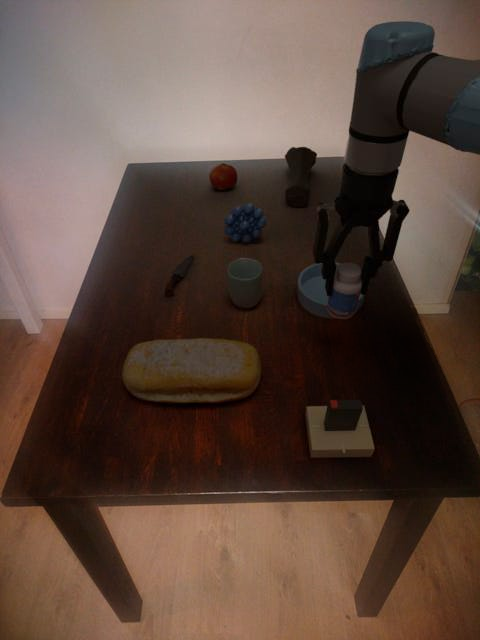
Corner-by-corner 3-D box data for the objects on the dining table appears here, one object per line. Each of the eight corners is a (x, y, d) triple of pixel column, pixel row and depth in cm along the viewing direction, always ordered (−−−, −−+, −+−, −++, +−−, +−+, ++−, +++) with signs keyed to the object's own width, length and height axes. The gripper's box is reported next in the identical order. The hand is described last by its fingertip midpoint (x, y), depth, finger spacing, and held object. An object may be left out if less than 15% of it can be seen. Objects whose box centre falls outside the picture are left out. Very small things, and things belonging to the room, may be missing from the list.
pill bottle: (355, 321, 71) (365, 281, 64) (325, 317, 72) (332, 277, 65) (355, 301, 74) (365, 261, 67) (327, 298, 75) (334, 258, 68)
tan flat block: (360, 411, 69) (363, 401, 67) (372, 460, 63) (376, 452, 61) (304, 412, 70) (306, 402, 67) (310, 461, 63) (312, 453, 61)
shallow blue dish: (374, 289, 91) (377, 276, 89) (344, 329, 83) (347, 316, 80) (317, 267, 98) (319, 254, 95) (284, 301, 90) (285, 288, 87)
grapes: (267, 234, 110) (267, 195, 101) (266, 248, 105) (266, 208, 96) (227, 233, 111) (224, 195, 102) (224, 247, 106) (220, 208, 97)
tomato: (205, 189, 130) (202, 166, 124) (222, 178, 135) (220, 155, 129) (226, 196, 126) (224, 173, 120) (243, 185, 130) (242, 162, 125)
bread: (262, 408, 71) (262, 383, 65) (120, 412, 71) (108, 388, 66) (259, 351, 80) (259, 325, 74) (134, 355, 81) (124, 330, 75)
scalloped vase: (293, 172, 140) (290, 221, 123) (280, 148, 133) (275, 197, 116) (321, 159, 134) (322, 209, 118) (309, 133, 128) (308, 182, 111)
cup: (257, 316, 87) (256, 282, 80) (225, 309, 89) (221, 276, 82) (266, 294, 92) (267, 260, 85) (236, 288, 94) (234, 255, 87)
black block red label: (353, 421, 65) (361, 398, 59) (355, 430, 63) (363, 407, 58) (323, 422, 65) (328, 399, 60) (324, 431, 64) (330, 408, 58)
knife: (170, 293, 91) (153, 282, 92) (169, 299, 93) (152, 288, 93) (207, 260, 102) (191, 250, 103) (205, 266, 104) (190, 256, 104)
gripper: (430, 150, 55) (390, 275, 72) (301, 155, 56) (292, 278, 72) (449, 174, 50) (402, 303, 66) (307, 179, 50) (296, 306, 67)
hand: (345, 290), depth 69 cm, fingers closed on pill bottle, 5 cm apart
